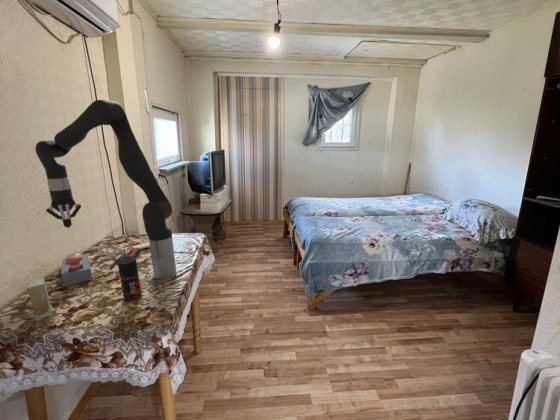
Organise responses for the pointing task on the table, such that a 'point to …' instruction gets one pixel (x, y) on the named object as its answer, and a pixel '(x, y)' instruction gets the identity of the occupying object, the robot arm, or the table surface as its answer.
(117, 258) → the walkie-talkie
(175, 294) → the table surface
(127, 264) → the deodorant
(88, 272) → the press block
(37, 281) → the skincare box
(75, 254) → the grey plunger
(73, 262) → the red plunger
